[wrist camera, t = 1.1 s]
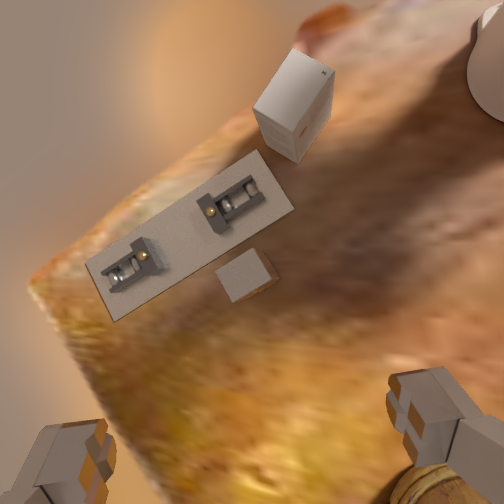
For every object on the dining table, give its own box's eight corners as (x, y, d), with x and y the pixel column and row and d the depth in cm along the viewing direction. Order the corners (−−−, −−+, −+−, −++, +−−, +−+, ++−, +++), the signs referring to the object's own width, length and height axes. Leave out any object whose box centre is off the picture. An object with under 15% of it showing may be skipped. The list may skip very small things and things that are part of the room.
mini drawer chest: (264, 252, 45) (251, 245, 37) (280, 280, 45) (272, 280, 36) (233, 271, 46) (213, 269, 37) (249, 299, 45) (233, 304, 36)
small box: (297, 97, 46) (292, 44, 36) (332, 117, 45) (337, 68, 35) (264, 145, 47) (250, 107, 36) (297, 166, 46) (292, 132, 35)
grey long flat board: (256, 150, 47) (252, 139, 43) (294, 209, 45) (292, 203, 42) (86, 262, 50) (69, 260, 47) (115, 321, 48) (100, 324, 45)
